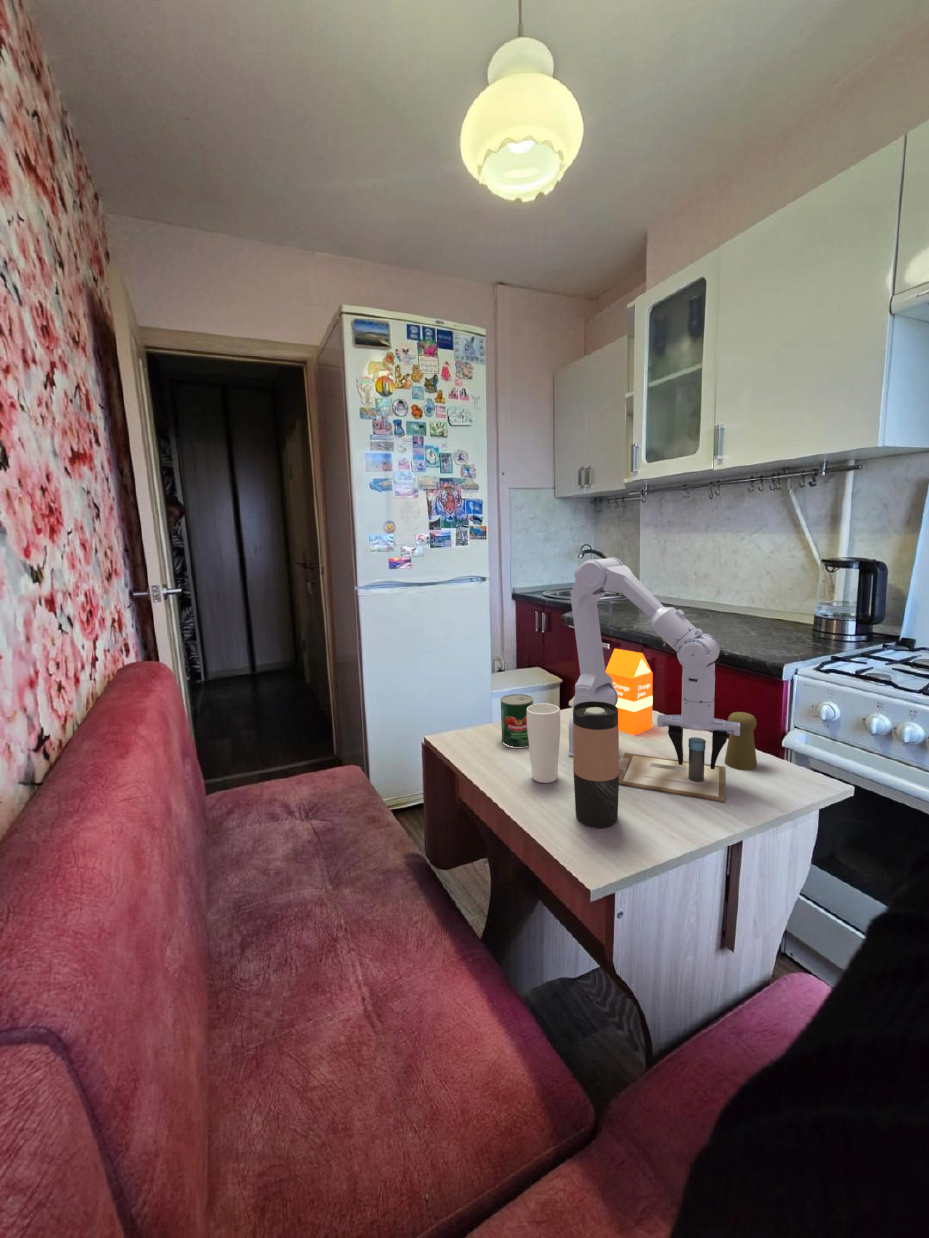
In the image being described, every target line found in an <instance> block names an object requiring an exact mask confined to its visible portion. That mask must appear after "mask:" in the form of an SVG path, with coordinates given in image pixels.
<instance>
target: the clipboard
mask: <svg viewBox="0 0 929 1238" xmlns="http://www.w3.org/2000/svg"><path fill="white" fill-rule="evenodd" d="M725 768H726V767H725V766H723V765H722V766H721V765H717V764H715V769H711V764H708V763H704V781H703V782H694V781H691V780H689V778H688V774H689V761H686V760H683V764H682V765H679V762H678V759H672V758H664V757H657V756H651V755H643V754H637V753H629V752H624V754H623V756H622V757H620V758H619V786H623V787H628V788H629V787H630V788H636V789H639V790H640V789H641V790H646V791H654V792H659V793H665V794H671V795H676V796H683V797H688V798H693V799H694V798H695V799H700V800H705V801H706V800H707V801H711V802H712V801H713V802H719V803H725V802H726V801H725V799H726V798H725V797H726V796H725V790H726V787H725V786H726V785H725V784H726V780H725V779H726V774H725V773H726V771H725V770H726V769H725Z"/></svg>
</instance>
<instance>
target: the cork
mask: <svg viewBox="0 0 929 1238" xmlns="http://www.w3.org/2000/svg"><path fill="white" fill-rule="evenodd" d="M727 721H730V722H736V723H740V736H735V735H733V734H729V735H728V739H727V740H728V741H727V746H726V752H725V757H724V764H725V765H726V766H727V767H729V768H731V769H736V770H739V771H753V770H754V771H755V770H756V769H757V768H758V761H757V754H756V753H757V752H756V745H755V744H756V743H755V736H754V735H755V734H754V731H755V730H756V727H757V719H756V718H755V716H754V715H752V714H751V713H748V712H744V711H736V712H732V713H730V714H729V716H728V717H727Z"/></svg>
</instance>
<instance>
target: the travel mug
mask: <svg viewBox="0 0 929 1238" xmlns="http://www.w3.org/2000/svg"><path fill="white" fill-rule="evenodd" d="M572 713H573V756H572V757H573V758H572V759H573V763H572V765H573V768H572V769H573V787H574V788H573V789H574V806H575V807H574V809H575V817H576V820H577V821H578V822H579V823H580V824H581V825H583V826H585V827H587V828H592V829H601V830H602V829H608V828H609V829H610V828H611V827H614V826H615V825H616V823H617V822H618V819H619V818H618V816H619V794H620V793H619V790H620V789H619V788H620V787H619V786H620V785H619V761H620V753H619V752H620V743H619V742H620V741H619V739H620V736H619V734H620V733H619V730H618V708H617V707H616V706H614V705H612V704H609V703H605V702H596V701H591V702H582V703H578V704H576V705H575V706H574V705H573V708H572Z"/></svg>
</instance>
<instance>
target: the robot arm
mask: <svg viewBox="0 0 929 1238" xmlns="http://www.w3.org/2000/svg"><path fill="white" fill-rule="evenodd" d="M574 578H575V581H574V584H573V588H572V589H571V594H570V602H571V603H570V604H571V610H572V616H573V617H572V618H573V627H574V633H575V640H576V648H577V649H576V650H577V656H578V657H577V658H578V664H579V672H580V675H579V677H578V679H577V680H576V682H575V686H574V692H575V694H574V697H573V701H572V703H573V707H574V706H575V705H576V704H578V703H582V702H591V701H596V702H605V703H609V704H612V705H614V706H616V704H617V702H618V694H617V691H616V689H615V688H614V686H613V683H612V678H611V677H610V676H609V675H608V674H607V673H606V665H605V658H604V657H605V656H604V649H603V644H602V643H603V641H602V635H601V626H600V619H599V618H600V617H599V610H598V602H599V600H600V599H601V598H602V597H603V596H604V595H605V593H607V592H610V593H619V594H622V595H623V596H624V598H627V600H629V601H630V602H631V603H633V604H634V606H636V608H638V609H639V610H641V611H642V612H643V613H644V614H645V615H646V616H648V617H649V618H650V620H651V621H650V622H651V629H652V630H653V631H654V632H656V633H657V635H659V636H660V637H661V638H662V639H663V641H665V642H666V643H667V644H668V645H669V646H670V648H672V649H673V650H674V651H675V652H676V657H677V660H678V662H679V664H680V666H682V675H681V714H657V718H656V727H657V728H663V727H668V729H667V730H668V731H667V734H668V737H669V738H670V740H671V742H672V743H671V744H672V745H673V747H674V749H675V753H676V756H677V760H678V762H679V765H682V764H683V761H684V745H683V742H684V741H683V739H684V737H683V736H684V734H683V733H684V729H686V730H691V731H698V732H702V731H704V732H711V733H712V734H711V735H712V737H711V739H712V740H711V747H712V749H711V755H710V756H711V757H710V765H711V769H715V765H716V763H717V759H718V757H719V754H720V752H721V751H722V748H723V747H724V746H725V744H726V743H727V740H728V734H729V735H730V734H733V735H735V736H740V723H736V722H730V721H728V720H724V719H720V718H715V691H716V690H715V689H716V688H715V686H716V672H715V671H716V662H715V661H716V660H717V659H718V658H719V656H720V652H721V647H720V645H719V643H718V641H717V640H716V639H715V637H714V636H712V635H711V634H708V633H704V632H703V630H702V629H701V628H697V627H696V626H694V624H692V622H690V621H689V620H688V619H687V618H685V616H684V615H686V614H685V611H683V610H682V609H677V608H675V607H667V606H666V607H665V606H664V605H663V604H662V602H660V601H659V600H658V599H657V598H656V597H655V595H653V593H651V592H650V591H649V590H648V589H647V587H646V586H645V585H644V584H643V583H642V582H641V581H640V580H639V579H638V577H636V576H635V575H634V574H633V572H632V570H631V568H630V567H629V566H627V565H625V564H624V563H623V562H622V560H620V559H619V558H617V557H613V556H611V557H610V556H609V557H606V558H599V559H593V558H592V559H587V560H585V561H583V562H582V563H581V564H580V565H579V567H578V568H576V570H574ZM568 756H569V757H573V712H572V713H571V715H570V717H569V721H568Z"/></svg>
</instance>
